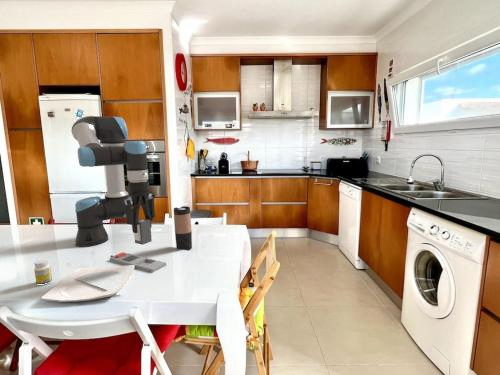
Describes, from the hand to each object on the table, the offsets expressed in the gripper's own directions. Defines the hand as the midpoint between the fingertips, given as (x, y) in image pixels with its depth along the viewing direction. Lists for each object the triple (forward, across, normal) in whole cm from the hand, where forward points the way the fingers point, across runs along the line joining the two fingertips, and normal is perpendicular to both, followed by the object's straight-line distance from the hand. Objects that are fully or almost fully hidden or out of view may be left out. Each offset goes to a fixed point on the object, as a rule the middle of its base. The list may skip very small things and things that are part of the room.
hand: (143, 237), depth 114 cm
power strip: (+13, 0, +6) cm, 14 cm away
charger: (+2, 0, 0) cm, 2 cm away
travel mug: (+13, +23, -1) cm, 26 cm away
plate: (+13, -19, +4) cm, 24 cm away
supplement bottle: (+13, -26, +23) cm, 37 cm away
